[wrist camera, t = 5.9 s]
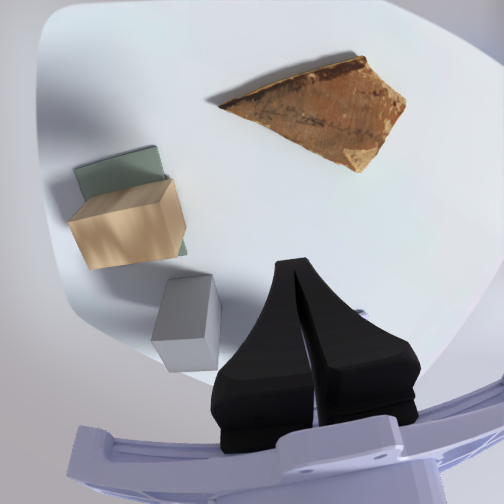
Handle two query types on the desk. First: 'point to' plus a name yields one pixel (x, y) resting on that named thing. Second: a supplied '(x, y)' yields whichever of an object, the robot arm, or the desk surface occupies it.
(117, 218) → the oak block
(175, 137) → the desk surface
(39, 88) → the desk surface
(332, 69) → the shard
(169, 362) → the grey block
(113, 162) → the mat
